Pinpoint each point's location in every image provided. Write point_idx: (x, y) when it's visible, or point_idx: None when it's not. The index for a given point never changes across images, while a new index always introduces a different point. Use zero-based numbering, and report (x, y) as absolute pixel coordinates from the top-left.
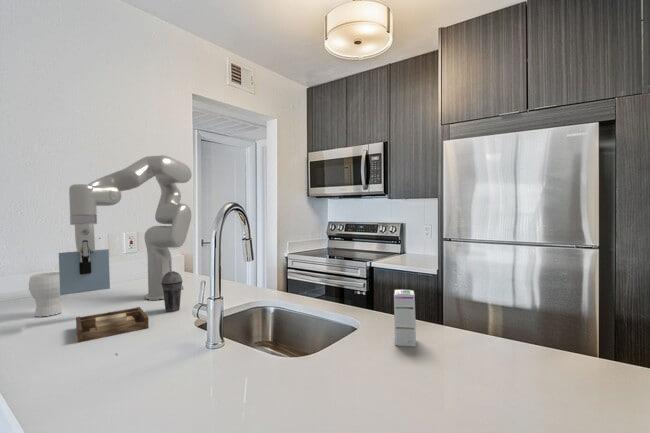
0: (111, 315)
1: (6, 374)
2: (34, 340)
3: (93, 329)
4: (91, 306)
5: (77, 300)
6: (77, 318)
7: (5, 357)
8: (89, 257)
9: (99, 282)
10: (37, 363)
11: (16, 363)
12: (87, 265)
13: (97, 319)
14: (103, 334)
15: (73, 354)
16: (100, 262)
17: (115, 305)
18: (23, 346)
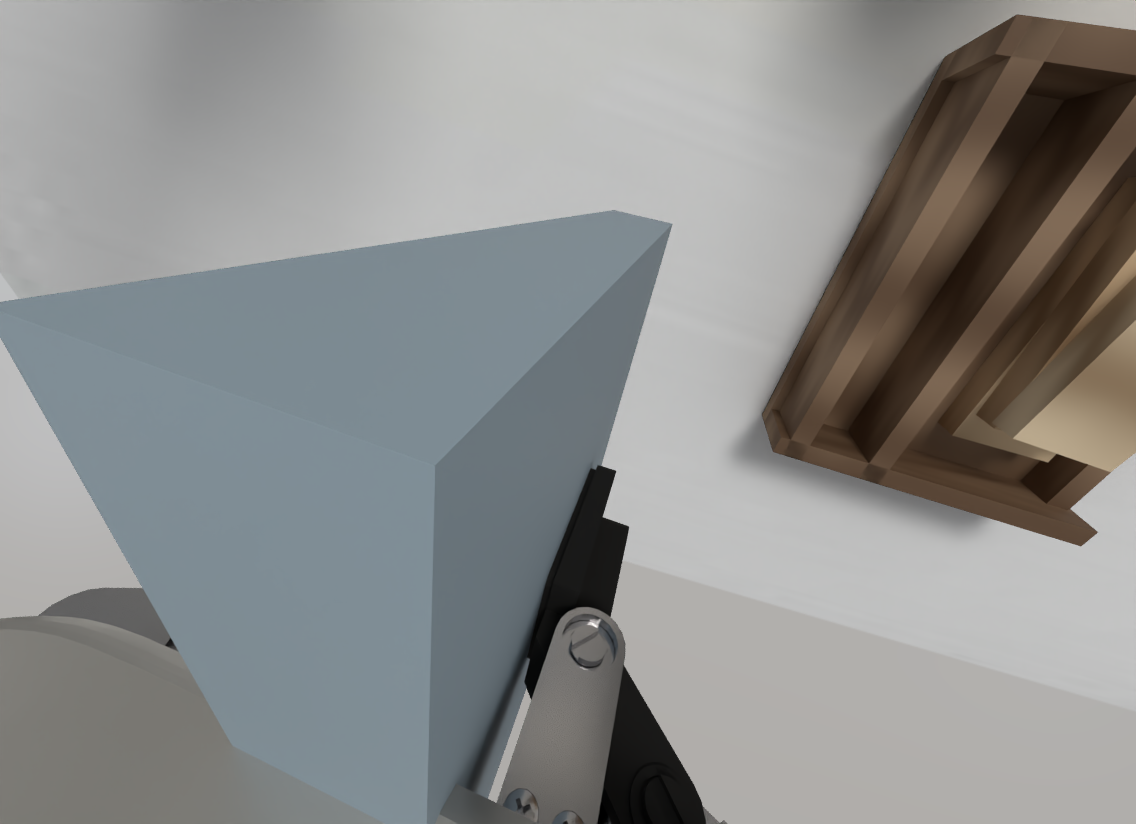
0: (1111, 359)
1: (1022, 676)
2: (720, 529)
3: (1003, 431)
4: (335, 207)
5: (176, 221)
6: (805, 456)
7: (827, 620)
8: (610, 735)
9: (636, 335)
10: (1036, 618)
11: (940, 633)
12: (614, 594)
13: (1084, 451)
14: None
15: (1117, 540)
16: (587, 437)
17: (391, 78)
18: (759, 565)
